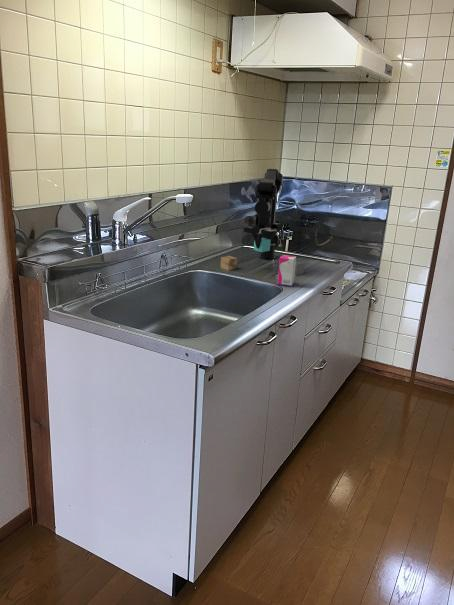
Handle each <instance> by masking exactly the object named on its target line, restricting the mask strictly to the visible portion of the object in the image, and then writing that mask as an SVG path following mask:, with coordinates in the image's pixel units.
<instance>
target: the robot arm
mask: <svg viewBox="0 0 454 605" xmlns="http://www.w3.org/2000/svg"><path fill="white" fill-rule="evenodd" d="M283 185H284V177H283V174H282V173H281V172H280V171H279V169H277V168H268V169H266V172H265V173H264V178H263V179H261V180H259V182H258V183H257V185H256V191H255V195H254V196H255V197H254V198H255V199H258V201H257V202H256V203H255V205H254V211H255V212H256V213H255V215H254V216H253V217H252V216H251V215H247V216H244V223H245V225H244V227H243V233H247V234H250V235H251V236H252V237H253V241H254V240H255V244H256V248H259V246H260V243H261V239H262V238H266V239H270V240H271V241H270V251H266V252H260V255H259V256H258V258H260V259H263V260H266V261H269V260H275V259H277V257H275V252H276V248H279V246H280V245H279V244H280V242H279V241H280V238H279V236H278V231H279V232H280V231H283V230H282V229H283V225H282V224H281V223H280V222H276V221H275V220H276V211H277V210H276V209H277V200H278V194H279V192H280V191H281V189H282V186H283Z"/></svg>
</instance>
